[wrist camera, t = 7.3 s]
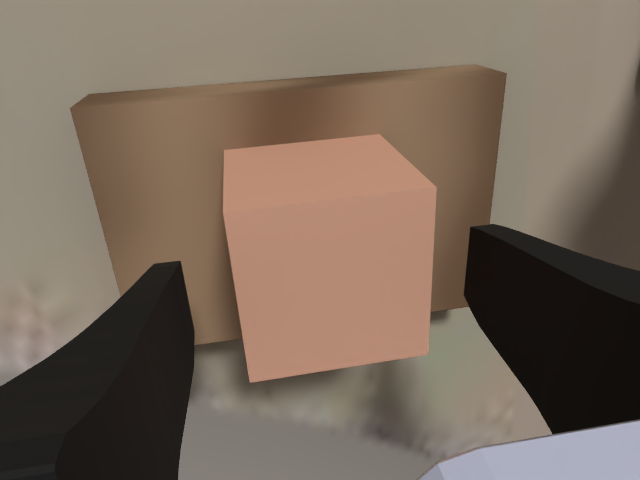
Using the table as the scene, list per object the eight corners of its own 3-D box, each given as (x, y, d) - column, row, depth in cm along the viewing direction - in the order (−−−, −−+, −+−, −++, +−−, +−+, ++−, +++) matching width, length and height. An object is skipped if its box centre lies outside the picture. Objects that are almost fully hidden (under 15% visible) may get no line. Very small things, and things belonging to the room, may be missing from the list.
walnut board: (476, 64, 16) (506, 73, 14) (457, 277, 20) (480, 305, 18) (88, 94, 15) (70, 108, 13) (144, 318, 18) (135, 353, 17)
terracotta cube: (379, 134, 15) (436, 187, 11) (380, 267, 17) (428, 354, 13) (224, 149, 14) (222, 212, 10) (243, 286, 16) (249, 382, 12)
